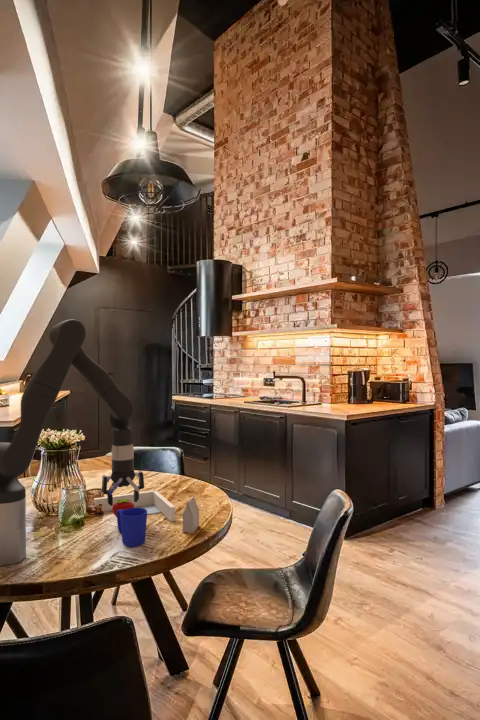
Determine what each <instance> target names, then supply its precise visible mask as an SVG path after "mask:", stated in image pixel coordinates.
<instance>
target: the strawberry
mask: <svg viewBox="0 0 480 720" xmlns="http://www.w3.org/2000/svg"><path fill="white" fill-rule="evenodd" d="M116 501H119V502H117V503H115V504H114V505H113V508H112V509H113V510H112V512H113V515H114V516H115V517H116V518H117V510H120V509H121V510H125V509H129V508H134V504H133V503H132V502H128V501H130V500H128V499H124V498H123V499H122V500H116Z"/></svg>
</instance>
